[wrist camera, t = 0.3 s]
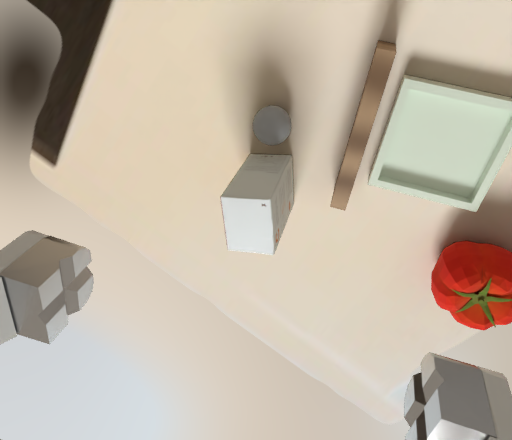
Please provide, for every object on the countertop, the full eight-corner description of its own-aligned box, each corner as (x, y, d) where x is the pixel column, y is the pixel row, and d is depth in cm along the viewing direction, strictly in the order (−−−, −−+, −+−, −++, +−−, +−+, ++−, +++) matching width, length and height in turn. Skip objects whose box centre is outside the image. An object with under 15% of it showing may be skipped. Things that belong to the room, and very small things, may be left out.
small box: (249, 152, 59) (219, 195, 49) (292, 154, 58) (271, 198, 47) (253, 202, 63) (226, 251, 53) (294, 205, 62) (275, 256, 51)
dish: (403, 74, 49) (404, 78, 47) (528, 101, 47) (533, 106, 45) (368, 178, 56) (367, 184, 55) (473, 204, 55) (476, 212, 53)
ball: (261, 97, 55) (251, 108, 50) (298, 105, 54) (290, 117, 50) (255, 132, 57) (245, 145, 53) (290, 140, 57) (283, 155, 53)
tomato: (539, 282, 58) (559, 326, 51) (449, 307, 64) (457, 350, 57) (503, 212, 54) (520, 250, 47) (411, 246, 60) (415, 284, 53)
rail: (378, 40, 47) (377, 47, 43) (395, 43, 47) (396, 51, 43) (334, 189, 59) (330, 206, 55) (348, 192, 58) (345, 210, 54)
